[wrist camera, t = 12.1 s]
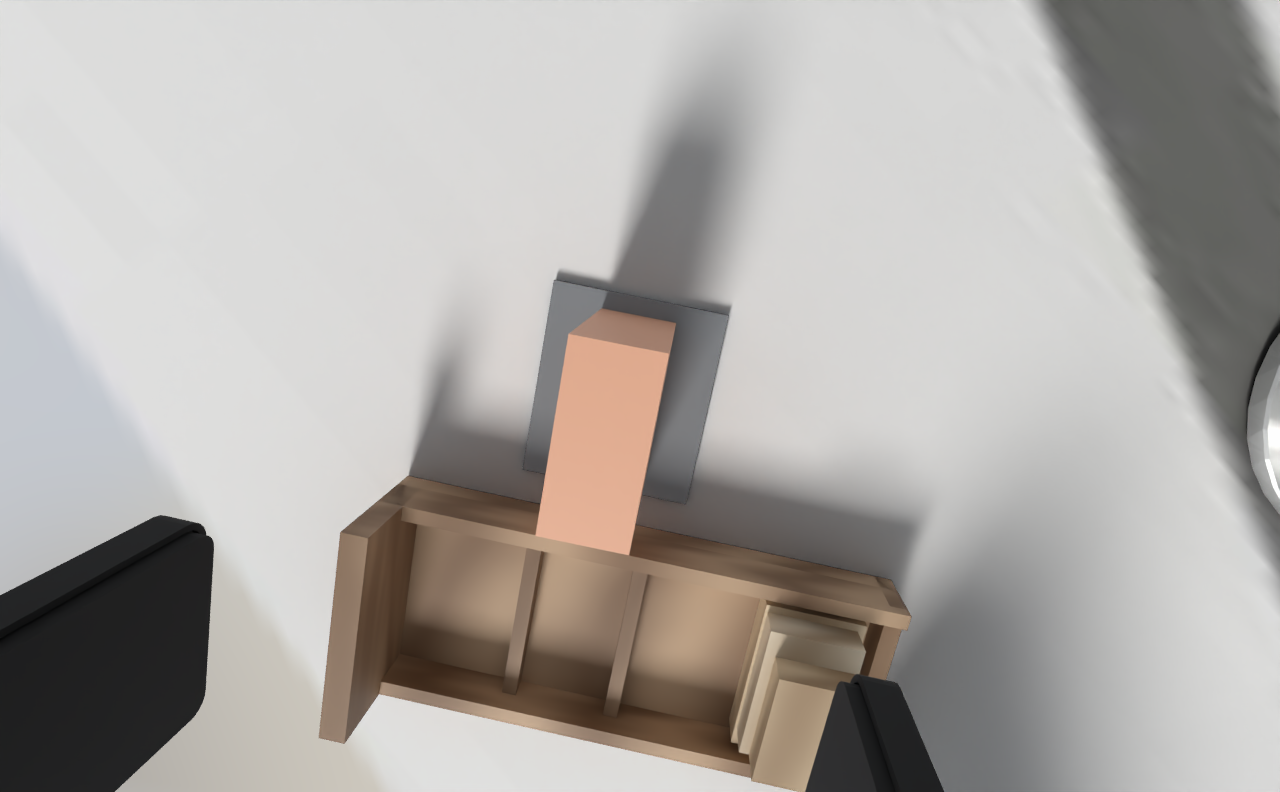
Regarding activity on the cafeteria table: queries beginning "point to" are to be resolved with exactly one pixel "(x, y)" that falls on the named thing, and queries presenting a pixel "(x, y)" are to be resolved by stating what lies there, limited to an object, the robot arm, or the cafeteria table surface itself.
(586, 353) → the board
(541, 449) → the mat
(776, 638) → the offcut stack
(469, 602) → the rack
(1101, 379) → the cafeteria table surface
